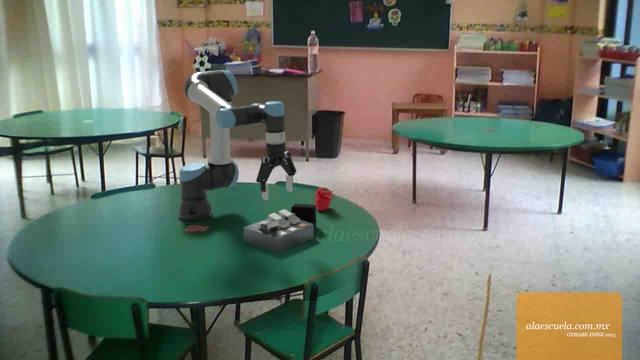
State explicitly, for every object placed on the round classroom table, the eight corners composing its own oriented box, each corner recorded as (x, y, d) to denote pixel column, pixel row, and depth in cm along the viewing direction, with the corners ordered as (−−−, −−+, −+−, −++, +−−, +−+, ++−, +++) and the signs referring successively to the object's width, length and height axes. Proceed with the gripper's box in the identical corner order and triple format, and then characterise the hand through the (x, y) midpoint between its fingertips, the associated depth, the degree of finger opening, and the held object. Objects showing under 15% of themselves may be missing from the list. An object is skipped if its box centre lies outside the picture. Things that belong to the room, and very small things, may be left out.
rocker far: (278, 214, 259) (278, 210, 259) (284, 212, 262) (284, 208, 261) (293, 224, 255) (294, 220, 254) (299, 222, 257) (300, 218, 256)
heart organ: (331, 204, 299) (331, 180, 295) (336, 212, 287) (336, 187, 284) (310, 205, 297) (310, 181, 294) (315, 213, 286) (314, 188, 283)
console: (244, 241, 254) (243, 220, 252) (280, 227, 269) (280, 207, 267) (277, 252, 242) (276, 231, 240) (313, 237, 257) (313, 216, 255)
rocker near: (258, 227, 251) (257, 223, 251) (264, 225, 254) (263, 221, 253) (273, 227, 245) (272, 223, 245) (279, 224, 247) (278, 220, 247)
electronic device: (314, 230, 266) (314, 207, 263) (291, 228, 268) (291, 206, 265) (316, 226, 270) (316, 204, 267) (293, 225, 272) (293, 203, 269)
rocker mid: (267, 218, 255) (268, 214, 254) (273, 216, 258) (274, 212, 257) (283, 228, 250) (283, 224, 250) (289, 226, 253) (289, 222, 252)
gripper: (259, 149, 229) (261, 204, 234) (304, 138, 247) (305, 189, 253) (245, 146, 233) (247, 201, 239) (290, 135, 252) (292, 186, 257)
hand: (277, 195), depth 246 cm, fingers open, 13 cm apart
